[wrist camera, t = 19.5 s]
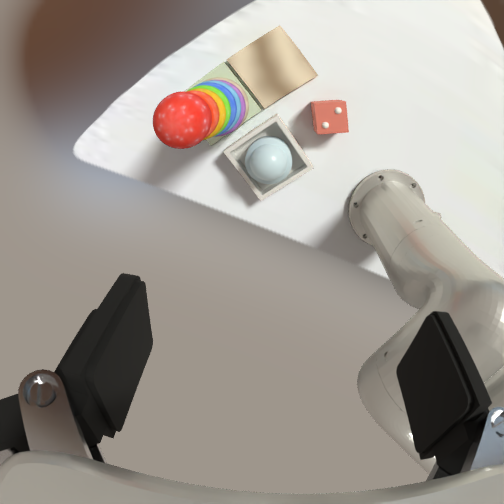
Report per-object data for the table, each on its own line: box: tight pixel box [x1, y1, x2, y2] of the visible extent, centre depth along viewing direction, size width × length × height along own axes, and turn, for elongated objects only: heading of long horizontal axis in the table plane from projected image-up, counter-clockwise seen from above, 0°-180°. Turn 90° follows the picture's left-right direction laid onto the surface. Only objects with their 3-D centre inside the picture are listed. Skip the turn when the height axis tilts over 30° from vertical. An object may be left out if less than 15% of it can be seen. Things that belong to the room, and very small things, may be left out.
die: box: [311, 100, 349, 134], centre depth 37 cm, size 4×4×4 cm
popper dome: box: [245, 136, 292, 184], centre depth 39 cm, size 6×6×5 cm
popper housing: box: [224, 114, 314, 201], centre depth 41 cm, size 9×9×3 cm
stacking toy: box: [153, 77, 249, 149], centre depth 30 cm, size 8×8×19 cm
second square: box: [184, 62, 262, 146], centre depth 39 cm, size 8×8×1 cm
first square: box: [227, 26, 318, 108], centre depth 36 cm, size 8×8×1 cm
